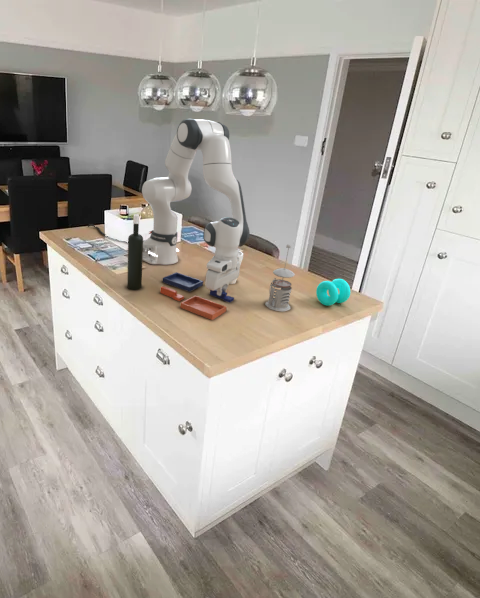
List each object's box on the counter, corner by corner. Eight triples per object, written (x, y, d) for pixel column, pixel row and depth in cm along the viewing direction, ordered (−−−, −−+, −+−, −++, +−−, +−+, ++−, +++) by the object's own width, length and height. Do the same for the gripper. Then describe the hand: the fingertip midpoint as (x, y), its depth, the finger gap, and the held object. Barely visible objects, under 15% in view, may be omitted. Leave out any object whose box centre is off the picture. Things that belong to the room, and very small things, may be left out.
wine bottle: (131, 291, 166) (133, 216, 153) (124, 286, 170) (126, 213, 158) (144, 288, 169) (146, 215, 157) (137, 283, 173) (139, 212, 161)
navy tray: (162, 282, 177) (162, 277, 176) (176, 276, 184) (176, 272, 183) (189, 291, 169) (189, 287, 169) (202, 285, 177) (203, 281, 176)
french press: (295, 306, 163) (307, 245, 153) (278, 314, 156) (290, 251, 145) (274, 298, 169) (285, 239, 159) (257, 305, 162) (267, 243, 151)
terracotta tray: (180, 307, 155) (180, 302, 155) (194, 299, 163) (195, 295, 162) (212, 320, 148) (212, 315, 147) (226, 311, 155) (226, 306, 154)
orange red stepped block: (159, 293, 166) (159, 287, 165) (164, 291, 168) (164, 285, 167) (179, 301, 161) (179, 295, 159) (183, 298, 163) (184, 292, 162)
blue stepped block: (208, 295, 168) (209, 289, 167) (212, 293, 170) (213, 287, 169) (229, 302, 162) (230, 296, 161) (233, 300, 165) (234, 294, 164)
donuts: (348, 306, 167) (354, 283, 163) (331, 310, 163) (337, 286, 159) (329, 296, 175) (334, 274, 171) (312, 300, 170) (317, 277, 166)
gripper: (231, 253, 169) (227, 284, 175) (204, 265, 154) (200, 299, 160) (245, 257, 166) (241, 288, 172) (218, 269, 151) (214, 304, 156)
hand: (221, 293), depth 166 cm, fingers closed on blue stepped block
